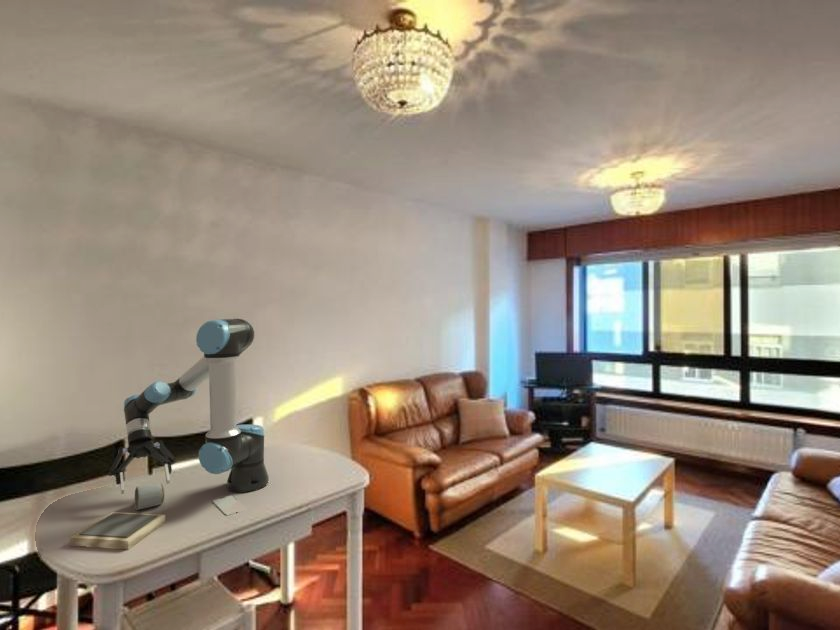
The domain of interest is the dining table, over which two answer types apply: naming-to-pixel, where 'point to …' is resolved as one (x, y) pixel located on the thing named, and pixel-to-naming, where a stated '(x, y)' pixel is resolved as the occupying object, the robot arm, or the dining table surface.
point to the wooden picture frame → (118, 530)
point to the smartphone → (225, 503)
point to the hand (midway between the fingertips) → (146, 487)
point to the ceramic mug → (149, 496)
